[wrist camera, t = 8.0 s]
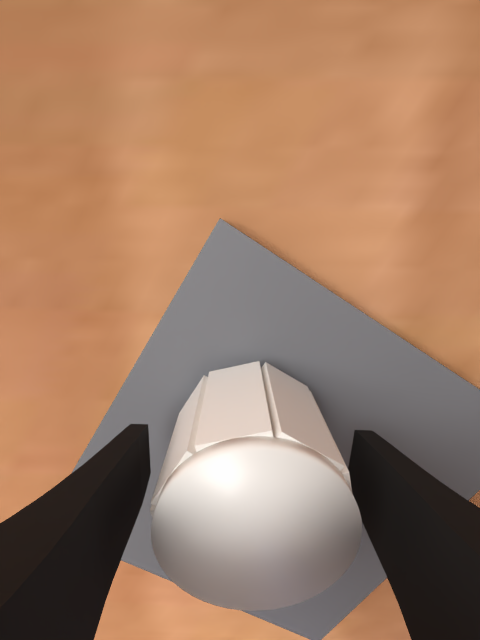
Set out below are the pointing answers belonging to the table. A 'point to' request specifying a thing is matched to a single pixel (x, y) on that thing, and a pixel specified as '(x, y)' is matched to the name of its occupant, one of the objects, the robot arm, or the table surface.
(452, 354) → the table surface
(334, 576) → the cap
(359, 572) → the base plate
